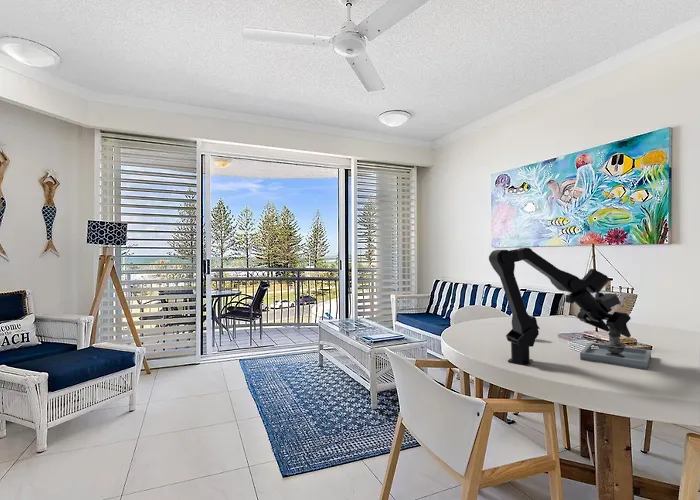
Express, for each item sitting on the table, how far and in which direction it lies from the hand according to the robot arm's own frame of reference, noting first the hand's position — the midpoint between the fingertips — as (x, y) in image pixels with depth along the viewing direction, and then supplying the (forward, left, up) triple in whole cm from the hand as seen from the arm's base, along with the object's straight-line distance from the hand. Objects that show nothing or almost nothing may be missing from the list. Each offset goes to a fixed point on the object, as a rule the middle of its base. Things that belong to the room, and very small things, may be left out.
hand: (618, 333), depth 128 cm
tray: (-1, +1, -9) cm, 9 cm away
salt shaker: (-1, +1, -8) cm, 8 cm away
